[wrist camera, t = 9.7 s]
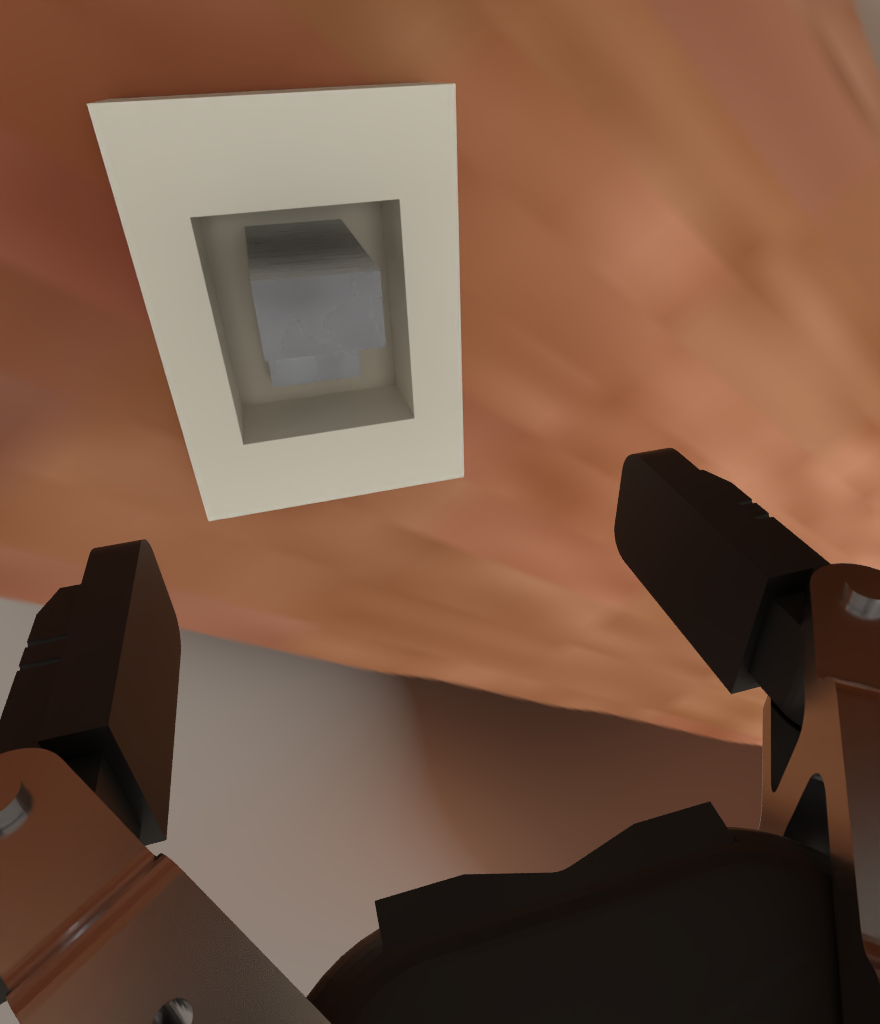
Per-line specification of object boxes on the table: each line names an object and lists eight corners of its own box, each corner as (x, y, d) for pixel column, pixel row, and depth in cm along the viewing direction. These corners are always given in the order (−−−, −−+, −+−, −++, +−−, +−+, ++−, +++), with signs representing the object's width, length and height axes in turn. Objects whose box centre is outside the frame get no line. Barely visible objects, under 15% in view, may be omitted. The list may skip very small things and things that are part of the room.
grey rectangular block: (244, 226, 27) (250, 282, 20) (340, 218, 28) (380, 270, 21) (271, 374, 31) (284, 467, 24) (355, 364, 32) (393, 451, 24)
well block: (107, 98, 24) (86, 103, 21) (424, 81, 27) (455, 83, 23) (210, 472, 33) (208, 521, 30) (440, 435, 36) (464, 476, 32)
